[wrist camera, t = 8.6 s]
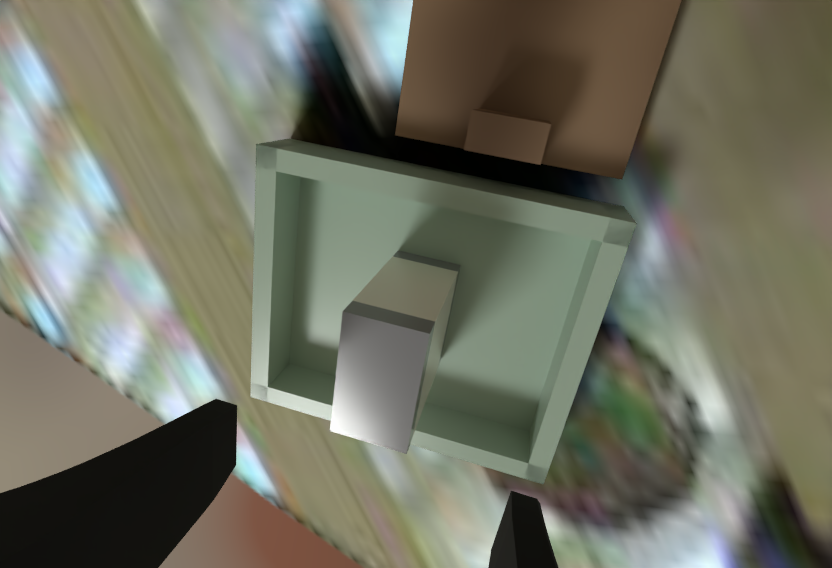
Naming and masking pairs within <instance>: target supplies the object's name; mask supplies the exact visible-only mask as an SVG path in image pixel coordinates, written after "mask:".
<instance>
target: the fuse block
mask: <svg viewBox="0 0 832 568" xmlns="http://www.w3.org/2000/svg"><path fill="white" fill-rule="evenodd" d="M681 1H682V0H413V7H412V14H411V21H410V29H409V36H408V44H407V51H406V58H405V66H404V73H403V80H402V88H401V95H400V103H399V110H398V117H397V125H396V132H395V135H396V136H402V137H407V138H412V139H417V140H422V141H427V142H432V143H438V144H443V145H448V146H453V147H458V148H463V149H464V150H467V151H472V152H477V153H482V154H487V155H492V156H497V157H502V158H508V159H513V160H518V161H523V162H528V163H533V164H538V165H541V164H545V165H550V166H555V167H561V168H566V169H571V170H576V171H581V172H586V173H591V174H597V175H602V176H607V177H612V178H617V179H622V178H623V175H624V172H625V169H626V166H627V163H628V160H629V157H630V154H631V151H632V148H633V145H634V142H635V139H636V136H637V133H638V130H639V127H640V124H641V121H642V118H643V115H644V112H645V109H646V106H647V103H648V100H649V97H650V94H651V91H652V88H653V85H654V82H655V79H656V76H657V73H658V70H659V67H660V64H661V61H662V58H663V55H664V52H665V49H666V46H667V43H668V40H669V37H670V34H671V31H672V28H673V25H674V22H675V19H676V16H677V13H678V10H679V7H680V4H681Z"/></svg>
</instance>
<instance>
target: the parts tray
mask: <svg viewBox="0 0 832 568" xmlns="http://www.w3.org/2000/svg"><path fill="white" fill-rule="evenodd" d="M636 224H637V223H636V222H635V220H634V219H633V218H632V217H631V215H630V214H629V213H628V211H627V210H626V209H625V208H624V206H619V205H614V204H609V203H604V202H599V201H594V200H589V199H584V198H580V197H575V196H570V195H565V194H560V193H555V192H550V191H545V190H540V189H535V188H530V187H525V186H521V185H516V184H511V183H506V182H501V181H496V180H491V179H486V178H481V177H476V176H471V175H466V174H462V173H457V172H452V171H447V170H442V169H437V168H432V167H427V166H422V165H417V164H412V163H407V162H403V161H398V160H393V159H388V158H383V157H378V156H373V155H368V154H363V153H358V152H353V151H348V150H344V149H339V148H334V147H329V146H324V145H319V144H314V143H309V142H304V141H299V140H294V139H284V140H278V141H272V142H267V143H261V144H256V180H255V224H254V269H253V314H252V358H251V397H253V398H256V399H259V400H263V401H266V402H270V403H273V404H276V405H280V406H283V407H286V408H290V409H293V410H296V411H300V412H303V413H306V414H310V415H313V416H316V417H320V418H323V419H326V420H330V421H331V416H332V406H333V397H334V387H335V378H336V369H337V359H338V350H339V341H340V331H341V322H342V313H343V310H344V309H345V308H346V307H347V306H348V305H349V304H350V303H351V302H352V301H353V299H354V298H355V297H356V296H357V295H358V294H359V293H360V292H361V291H362V290H363V288H364V287H365V286H366V285H367V284H368V283H369V282H370V281H371V280H372V278H373V277H374V276H375V275H376V274H377V273H378V272H379V271H380V270H381V269H382V267H383V266H384V265H385V264H386V263H387V262H388V261H389V260H390V259H391V258H392V256H393V255H394V254H395V253H396V252H397V251H398V250H399V251H403V252H408V253H412V254H416V255H420V256H425V257H429V258H433V259H438V260H442V261H446V262H451V263H455V264H459V265H461V268H460V272H459V277H458V282H457V287H456V291H455V296H454V301H453V306H452V310H451V315H450V320H449V325H448V329H447V334H446V339H445V344H444V348H443V353H442V358H441V361H440V364H439V367H438V369H437V372H436V375H435V377H434V380H433V383H432V386H431V388H430V391H429V394H428V397H427V399H426V402H425V405H424V408H423V410H422V413H421V416H420V418H419V421H418V424H417V427H416V429H415V432H414V435H413V438H412V440H411V443H410V445H414V446H417V447H420V448H424V449H427V450H430V451H434V452H437V453H440V454H444V455H447V456H450V457H454V458H457V459H461V460H464V461H467V462H471V463H474V464H477V465H481V466H484V467H487V468H491V469H494V470H497V471H501V472H504V473H507V474H511V475H514V476H518V477H521V478H524V479H528V480H531V481H534V482H538V483H541V484H544V481H545V478H546V475H547V473H548V470H549V467H550V464H551V461H552V459H553V456H554V453H555V450H556V447H557V445H558V442H559V439H560V436H561V433H562V431H563V428H564V425H565V422H566V420H567V417H568V414H569V411H570V408H571V406H572V403H573V400H574V397H575V394H576V392H577V389H578V386H579V383H580V380H581V378H582V375H583V372H584V369H585V367H586V364H587V361H588V358H589V355H590V353H591V350H592V347H593V344H594V341H595V339H596V336H597V333H598V330H599V327H600V325H601V322H602V319H603V316H604V314H605V311H606V308H607V305H608V302H609V300H610V297H611V294H612V291H613V288H614V286H615V283H616V280H617V277H618V274H619V272H620V269H621V266H622V263H623V260H624V258H625V255H626V252H627V249H628V247H629V244H630V241H631V238H632V235H633V233H634V230H635V227H636Z"/></svg>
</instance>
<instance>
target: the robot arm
mask: <svg viewBox="0 0 832 568" xmlns="http://www.w3.org/2000/svg"><path fill="white" fill-rule="evenodd" d="M236 436H237V405H234V404H231V403H228V402H225V401H221V400H218V399H215V400H213V401H211V402H209V403H206V404H204V405H202V406H200V407H198V408H196V409H195V410H193V411H191V412H189V413H187V414H185V415H183V416H181V417H179V418H177V419H175V420H173V421H171V422H169V423H167V424H165V425H163V426H161V427H159V428H157V429H155V430H153V431H151V432H149V433H147V434H145V435H143V436H141V437H139V438H137V439H135V440H133V441H131V442H128V443H126V444H124V445H122V446H120V447H118V448H115V449H113V450H111V451H109V452H106V453H104V454H102V455H100V456H97V457H95V458H93V459H91V460H88V461H86V462H84V463H81V464H79V465H77V466H74V467H72V468H70V469H67V470H64V471H62V472H59V473H57V474H54V475H51V476H49V477H46V478H43V479H41V480H38V481H36V482H33V483H30V484H27V485H24V486H21V487H19V488H16V489H12V490H9V491H6V492H3V493H0V568H158V567H159V566H160V565H161V564H162V563H163V561H164V560H165V559H166V558H167V556H168V555H169V554H170V553H171V552H172V550H173V549H174V548H175V547H176V546H177V544H178V543H179V542H180V541H181V539H182V538H183V537H184V536H185V535H186V533H187V532H188V531H189V530H190V528H191V527H192V526H193V525H194V523H195V522H196V521H197V520H198V519H199V517H200V516H201V515H202V514H203V513H204V511H205V510H206V509H207V507H208V506H209V505H210V504H211V503H212V501H213V500H214V498H215V497H216V495H217V494H218V492H219V491H220V489H221V488H222V486H223V485H224V483H225V482H226V480H227V478H228V477H229V475H230V474H231V472H232V470H233V469H234V467H235V466H236ZM489 568H558V565H557V562H556V559H555V556H554V553H553V549H552V546H551V543H550V540H549V536H548V533H547V529H546V526H545V522H544V518H543V514H542V510H541V506H540V503H539V501H538V500H537V499H536V498H533V497H530V496H526V495H523V494H520V493H517V492H513V491H511V493H510V496H509V499H508V502H507V505H506V508H505V511H504V514H503V517H502V520H501V523H500V526H499V529H498V531H497V534H496V537H495V540H494V543H493V546H492V549H491V556H490V562H489Z"/></svg>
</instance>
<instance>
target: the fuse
mask: <svg viewBox="0 0 832 568" xmlns="http://www.w3.org/2000/svg"><path fill="white" fill-rule="evenodd" d="M460 268H461V265H459V264H455V263H451V262H446V261H442V260H438V259H433V258H429V257H425V256H420V255H416V254H412V253H408V252H403V251H399V250H398V251H397V252H396V253H395V254H394V255H393V256H392V258H391V259H390V260H389V261H388V262H387V263H386V264H385V265H384V266H383V267H382V269H381V270H380V271H379V272H378V273H377V274H376V275H375V276H374V277H373V278H372V280H371V281H370V282H369V283H368V284H367V285H366V286H365V287H364V288H363V290H362V291H361V292H360V293H359V294H358V295H357V296H356V297H355V298H354V299H353V301H352V302H351V303H350V304H349V305H348V306H347V307H346V308H345V309H344V310H343V313H342V322H341V331H340V341H339V350H338V359H337V369H336V378H335V387H334V397H333V406H332V416H331V425H330V431H332V432H335V433H339V434H342V435H345V436H349V437H352V438H355V439H358V440H362V441H365V442H368V443H372V444H375V445H378V446H382V447H385V448H388V449H392V450H395V451H398V452H402V453H405V454H407V451H408V449H409V446H410V443H411V440H412V438H413V435H414V432H415V429H416V427H417V424H418V421H419V418H420V416H421V413H422V410H423V408H424V405H425V402H426V399H427V397H428V394H429V391H430V388H431V386H432V383H433V380H434V377H435V375H436V372H437V369H438V367H439V364H440V361H441V358H442V353H443V348H444V344H445V339H446V334H447V329H448V325H449V320H450V315H451V310H452V306H453V301H454V296H455V291H456V287H457V282H458V277H459V272H460Z"/></svg>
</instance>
